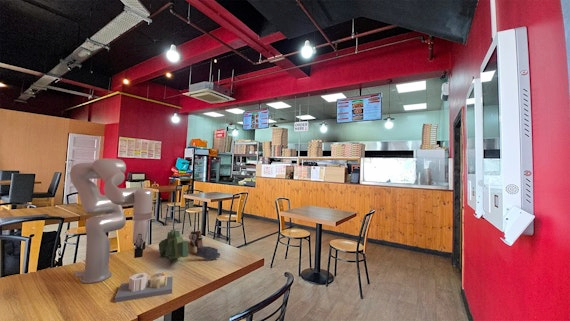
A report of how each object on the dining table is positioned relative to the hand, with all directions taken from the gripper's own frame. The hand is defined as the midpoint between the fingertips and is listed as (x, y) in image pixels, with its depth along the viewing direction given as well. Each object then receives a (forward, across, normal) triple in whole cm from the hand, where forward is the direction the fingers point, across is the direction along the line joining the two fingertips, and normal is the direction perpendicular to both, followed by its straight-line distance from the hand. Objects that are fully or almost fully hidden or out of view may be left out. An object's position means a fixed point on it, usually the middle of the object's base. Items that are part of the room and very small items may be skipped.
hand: (139, 253), depth 111 cm
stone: (+18, -26, +35) cm, 47 cm away
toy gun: (+18, -50, +29) cm, 60 cm away
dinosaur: (+18, -32, +16) cm, 40 cm away
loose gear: (+16, 0, 0) cm, 16 cm away
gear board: (+17, 0, +4) cm, 18 cm away
